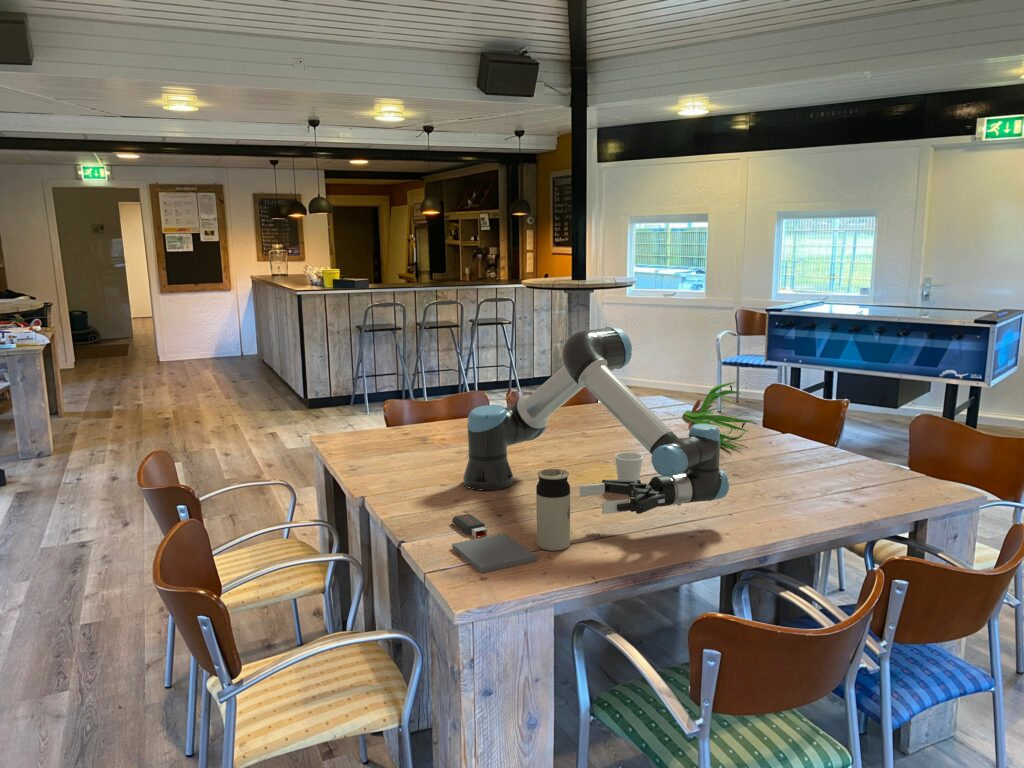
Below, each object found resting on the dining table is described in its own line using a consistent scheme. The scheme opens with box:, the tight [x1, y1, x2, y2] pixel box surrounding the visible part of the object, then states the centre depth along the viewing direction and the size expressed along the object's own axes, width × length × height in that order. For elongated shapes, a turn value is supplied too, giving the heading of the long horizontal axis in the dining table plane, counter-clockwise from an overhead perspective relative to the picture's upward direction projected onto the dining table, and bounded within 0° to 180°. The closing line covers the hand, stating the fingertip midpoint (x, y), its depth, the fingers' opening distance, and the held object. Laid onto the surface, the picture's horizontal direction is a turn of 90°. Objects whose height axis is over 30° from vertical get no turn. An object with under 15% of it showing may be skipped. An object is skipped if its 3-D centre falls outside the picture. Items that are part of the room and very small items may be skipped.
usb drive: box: [451, 513, 488, 538], centre depth 193 cm, size 5×12×3 cm, turn 28°
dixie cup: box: [614, 451, 644, 481], centre depth 223 cm, size 8×8×10 cm
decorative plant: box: [681, 381, 754, 450], centre depth 272 cm, size 26×25×30 cm
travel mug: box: [535, 468, 571, 552], centre depth 180 cm, size 8×8×18 cm
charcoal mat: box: [452, 532, 538, 574], centre depth 176 cm, size 16×14×1 cm
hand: (591, 499), depth 183 cm, fingers open, 13 cm apart
